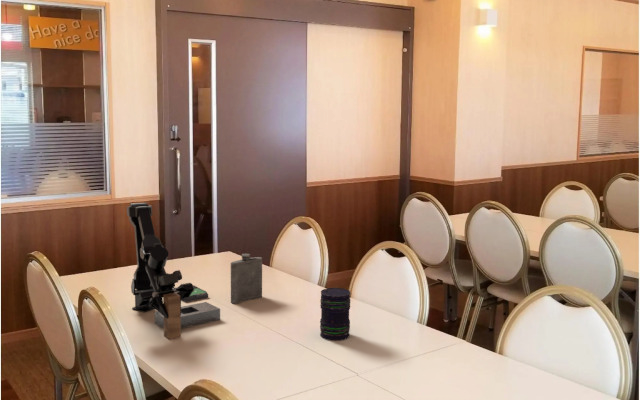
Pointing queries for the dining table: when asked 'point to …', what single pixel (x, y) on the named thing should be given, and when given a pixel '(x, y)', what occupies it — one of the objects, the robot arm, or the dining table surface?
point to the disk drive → (195, 294)
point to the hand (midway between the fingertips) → (174, 316)
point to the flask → (246, 279)
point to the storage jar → (335, 314)
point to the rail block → (193, 315)
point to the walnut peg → (172, 316)
